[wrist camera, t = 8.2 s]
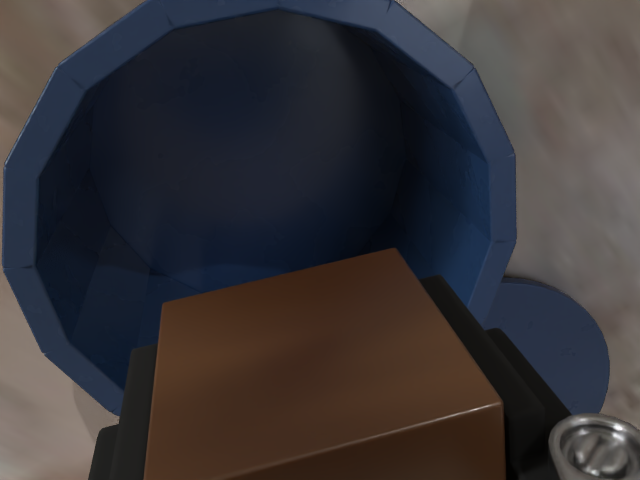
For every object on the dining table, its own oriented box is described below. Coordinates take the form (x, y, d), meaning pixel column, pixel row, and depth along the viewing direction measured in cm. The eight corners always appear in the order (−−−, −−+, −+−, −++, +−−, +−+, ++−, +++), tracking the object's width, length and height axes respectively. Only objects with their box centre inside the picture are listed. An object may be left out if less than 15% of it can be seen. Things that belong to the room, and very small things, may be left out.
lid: (603, 239, 28) (722, 321, 22) (590, 459, 35) (677, 572, 28) (302, 312, 27) (333, 423, 21) (348, 526, 34) (382, 660, 27)
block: (396, 245, 11) (506, 401, 7) (417, 421, 13) (512, 620, 9) (161, 301, 11) (138, 501, 7) (219, 474, 13) (229, 706, 9)
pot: (392, -153, 20) (511, -221, 12) (435, 314, 28) (520, 444, 21) (-23, -80, 19) (-178, -107, 11) (152, 384, 27) (133, 549, 20)
